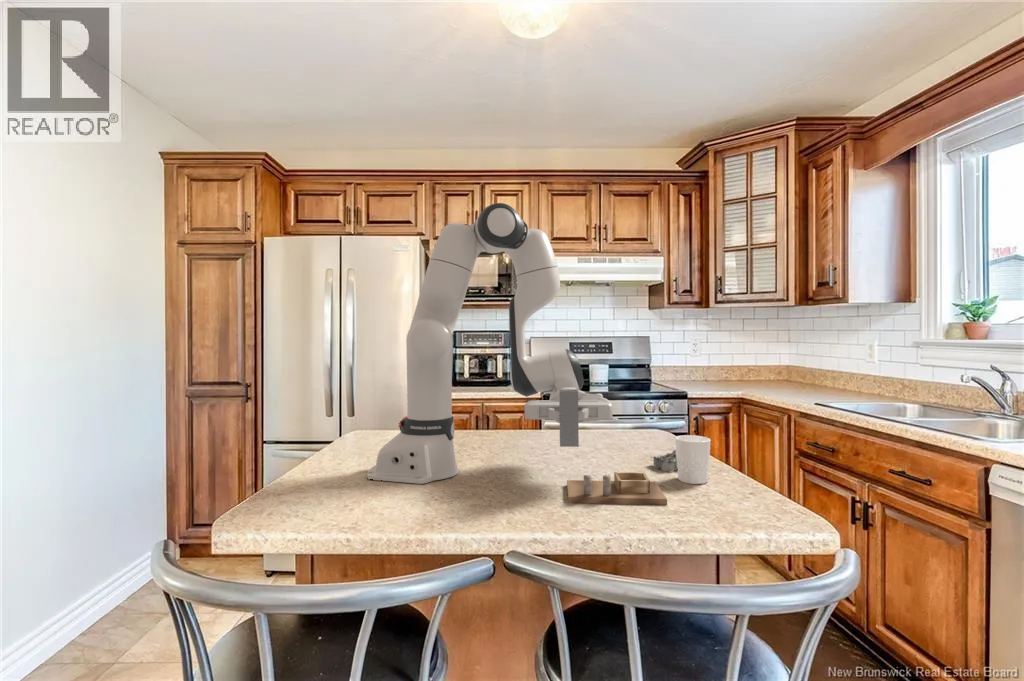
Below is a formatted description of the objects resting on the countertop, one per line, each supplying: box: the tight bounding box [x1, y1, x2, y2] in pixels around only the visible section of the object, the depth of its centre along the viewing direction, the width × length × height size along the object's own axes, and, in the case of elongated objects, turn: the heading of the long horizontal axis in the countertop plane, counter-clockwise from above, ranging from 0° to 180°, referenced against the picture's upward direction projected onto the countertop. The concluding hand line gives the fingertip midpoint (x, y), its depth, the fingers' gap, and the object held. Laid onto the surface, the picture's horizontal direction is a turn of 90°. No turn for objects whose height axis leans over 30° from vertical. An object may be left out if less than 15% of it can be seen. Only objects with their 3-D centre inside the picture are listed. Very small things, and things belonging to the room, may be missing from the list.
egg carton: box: [651, 449, 678, 472], centre depth 133 cm, size 11×8×4 cm
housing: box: [566, 471, 668, 506], centre depth 110 cm, size 20×12×5 cm, turn 86°
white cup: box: [674, 434, 711, 485], centre depth 121 cm, size 8×8×10 cm
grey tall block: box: [559, 389, 580, 448], centre depth 112 cm, size 4×4×12 cm
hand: (569, 415), depth 111 cm, fingers closed on grey tall block, 4 cm apart
